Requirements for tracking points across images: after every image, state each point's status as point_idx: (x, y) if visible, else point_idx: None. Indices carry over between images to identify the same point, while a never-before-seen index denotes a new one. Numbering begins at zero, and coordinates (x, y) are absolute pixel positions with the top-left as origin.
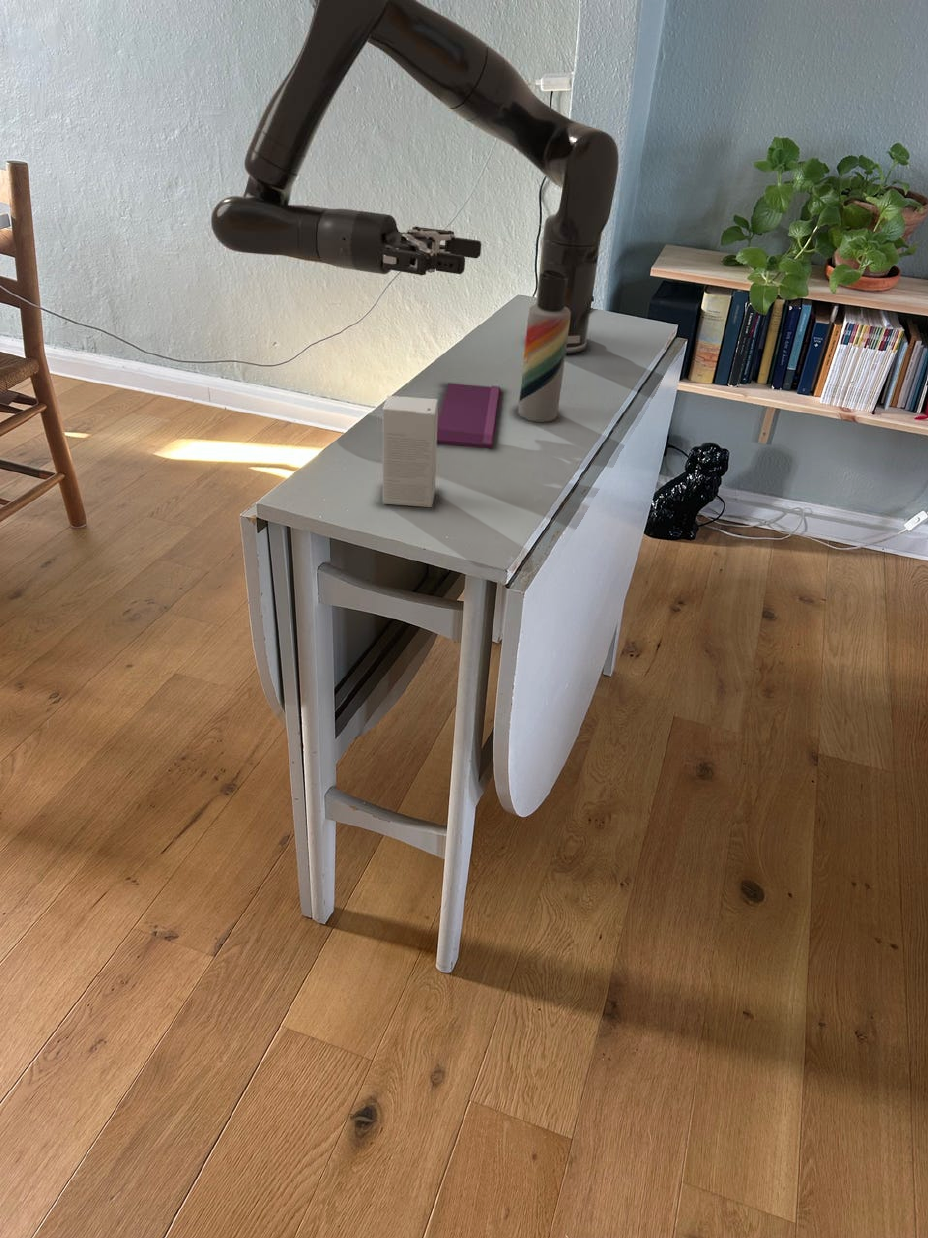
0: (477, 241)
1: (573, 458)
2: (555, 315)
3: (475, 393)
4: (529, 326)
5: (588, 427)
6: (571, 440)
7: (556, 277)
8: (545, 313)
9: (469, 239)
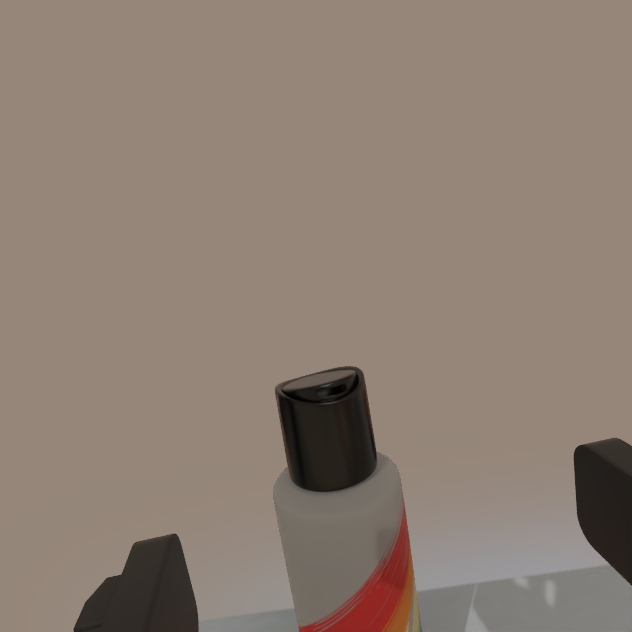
0: (166, 538)
1: (527, 586)
2: (380, 453)
3: None
4: (393, 542)
5: None
6: (457, 618)
7: (344, 371)
8: (387, 466)
9: (119, 598)
